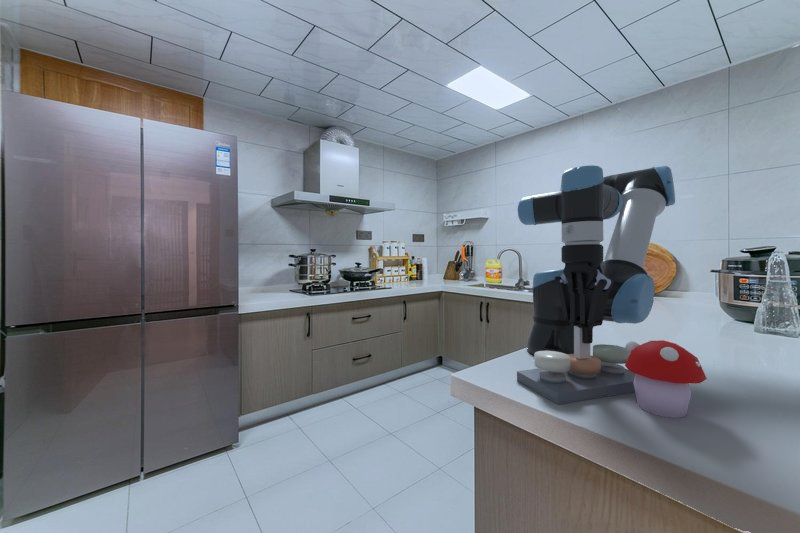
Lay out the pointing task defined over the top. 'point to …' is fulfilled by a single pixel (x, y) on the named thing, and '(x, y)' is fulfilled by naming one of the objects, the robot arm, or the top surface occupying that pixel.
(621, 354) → the sage cap
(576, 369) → the terracotta cap
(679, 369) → the mushroom
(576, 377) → the button board
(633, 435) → the top surface
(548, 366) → the white flat dome
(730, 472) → the top surface
